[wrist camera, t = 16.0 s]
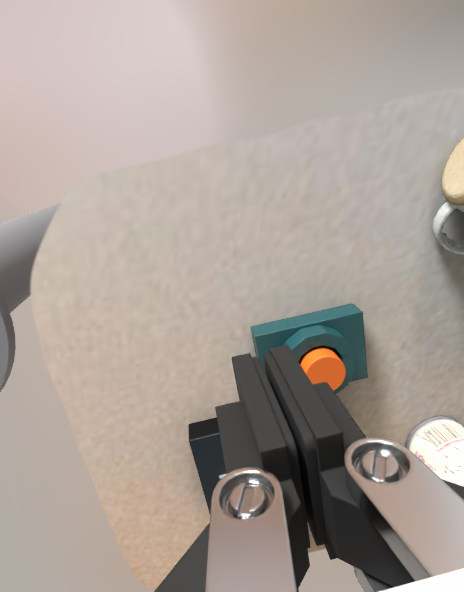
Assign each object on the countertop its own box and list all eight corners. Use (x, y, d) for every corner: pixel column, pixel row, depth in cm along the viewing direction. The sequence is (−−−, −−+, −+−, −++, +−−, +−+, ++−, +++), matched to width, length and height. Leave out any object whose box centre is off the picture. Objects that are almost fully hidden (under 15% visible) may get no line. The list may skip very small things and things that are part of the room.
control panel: (209, 497, 42) (210, 518, 40) (188, 424, 39) (188, 442, 36) (314, 471, 43) (322, 490, 40) (303, 396, 40) (311, 412, 37)
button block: (262, 389, 39) (271, 413, 35) (250, 326, 36) (258, 345, 32) (358, 366, 39) (376, 387, 35) (352, 303, 37) (372, 319, 33)
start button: (301, 387, 35) (307, 398, 33) (296, 352, 34) (302, 362, 32) (340, 377, 35) (347, 388, 33) (336, 342, 34) (344, 352, 32)
